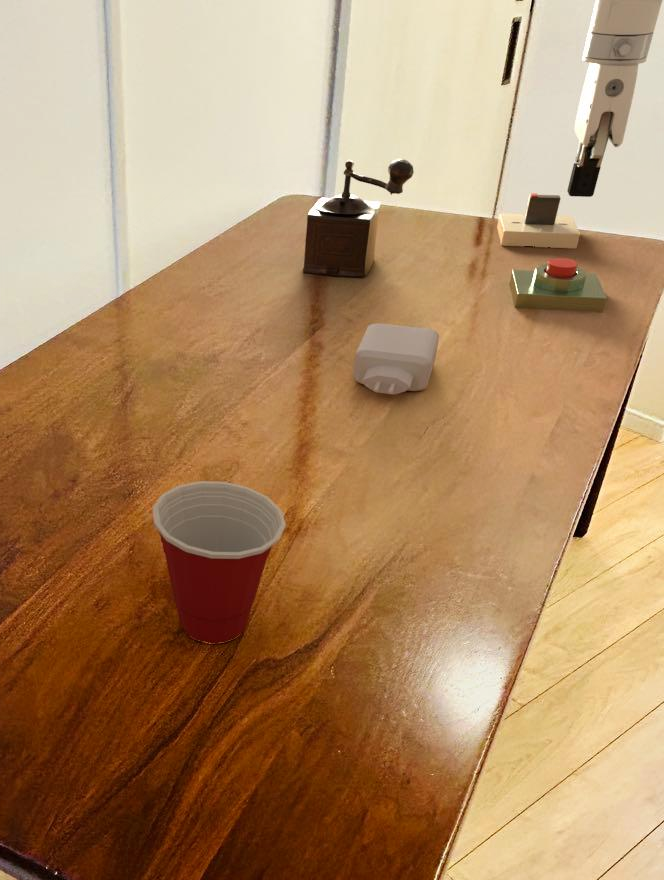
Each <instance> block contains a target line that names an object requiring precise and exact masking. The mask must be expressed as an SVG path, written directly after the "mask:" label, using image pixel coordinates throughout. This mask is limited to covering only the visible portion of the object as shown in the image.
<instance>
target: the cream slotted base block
mask: <svg viewBox="0 0 664 880" xmlns="http://www.w3.org/2000/svg"><path fill="white" fill-rule="evenodd" d="M524 217H525V213H524V214H523V213H499V216H498V220H497V225H496V226H497V227H496V228H497V233H498V238H499V242H500V246H501V247H524V246H533V247H532V248H548V247H550V248H553V249H574V250H576V249H577V248H578V244H579V240H580V236H581V233H580V231H579V229H578V226H577V223H576V221H575V218H574V217H573V215H558V214H557V215H556V220H555V224H554V225H544V224H525V223H524ZM534 246H535V247H534ZM550 248H549V249H550Z"/></svg>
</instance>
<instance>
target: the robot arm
mask: <svg viewBox="0 0 664 880" xmlns="http://www.w3.org/2000/svg"><path fill="white" fill-rule="evenodd" d="M662 4H663V0H595V3H594V8H593V11H592V12H593V13H592V16H591V21H590V25H589V29H588V32H587V36H586V41H585V46H584V50H583V54H582V58H581V59H582V61H583V62H584V63H585V62H586V63H588V64H589V66H588V68H587V71H586V76H585V79H584V84H583V87H582V91H581V94H580V100H579V104H578V108H577V113H576V117H575V123H574V133H575V135H576V137H577V139H578V140H579V141H578V144H577V145H578V146H577V150H576V155H575V161H574V162H575V163H574V162H573V165H572V170H571V174H570V178H569V182H568V186H567V189H566V190H567V194H568V197H569V196H570V197H582V198H592V197H593V196H594V194H595V190H596V186H597V184H598V183H597V182H598V178H599V176H600V171H601V168H602V162H603V159H604V155H605V152H606V149H607V145H608V143H609V141H610V143H611V144H612V145H613V147H614V148H619V147H620V146H621V145H622V144H623V142H624V138H625V133H626V130H627V124H628V121H629V116H630V113H631V112H630V111H631V109H632V108H631V107H632V103H633V99H634V94H635V88H636V83H637V79H638V78H637V77H638V72H639V71H638V70H639V64H644V63H646V61H647V58H648V55H649V51H650V47H651V44H652V40H653V36H654V32H655V29H656V25H657V21H658V17H659V14H660V10H661V7H662Z"/></svg>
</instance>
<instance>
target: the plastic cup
mask: <svg viewBox="0 0 664 880" xmlns="http://www.w3.org/2000/svg"><path fill="white" fill-rule="evenodd" d="M152 515H153V516H152V517H153V525H154V527H155V529H156V530H157V531H158V534H159V536H160V541H161V543H162V551H163V553H164V557H165V561H166V566H167V570H168V576H169V582H170V585H171V591H172V596H173V601H174V602H175V604H176V610H177V615H178V621H179V624H180V625H181V628H182V627H183V628H184V630H185V631H186V633H187V634H188V635H190V636H192V637H193V638H195V639H197V640H200V641H205V642H208V643H209V642H210V643H219V642H225V641H228V640H231V639H234V638H235V637H237V636H238V635H239V634H240V633H242V632H244V630H245V629H246V627H247V625H248V622H249V619H250V614H251V611H252V608H253V604H254V601H255V599H256V597H257V593H258V591H259V590H258V589H259V587H260V584H261V580H262V576H263V573H264V570H265V566H266V562H267V559H268V557H269V555H270V552H271V550H272V549H273V547H274V546H275V545H277V544H278V543H279V541H280V539H281V537H282V536H283V535H282V534H283V532H284V530H285V528H286V526H287V523H286V520H285V517H284V516H285V515H284V514H283V510H282V509H281V508H280V507H279V506H278V505H277V504H276V503H275V502H274V501H273V500H272V499H271V498H270V497H269V496H267V495H265V494H263V493H261V492H259V491H257V490H254V489H253V488H251V487H248V486H245V485H241V484H236V483H232V482H227V481H209V480H208V481H207V480H200V481H199V480H198V481H195V482H190V483H189V482H188V483H184V484H180V485H177V486H175V487H173V488H171V489H169V490H168V491H165V492H164V493H162V494H161V495H160V496H159V498H158V499H157V500H156V502H155V504H154V505H153V506H152ZM184 630H183V631H184ZM185 631H184V632H185ZM186 633H185V634H186ZM187 634H186V635H187ZM242 634H243V633H242ZM188 635H187V636H188Z"/></svg>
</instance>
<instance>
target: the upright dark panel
mask: <svg viewBox="0 0 664 880" xmlns="http://www.w3.org/2000/svg"><path fill="white" fill-rule="evenodd" d="M561 199H562V198H561V195H558V194H538V193H533V192H532V193H531V192H530V194H529V196H528V199H527V204H526V209H525V213H524V214H525V217H524V223H525V224H544V225H554V224H555V220H556V215H558V210H559V207H560V204H561V203H560V202H561Z"/></svg>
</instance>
